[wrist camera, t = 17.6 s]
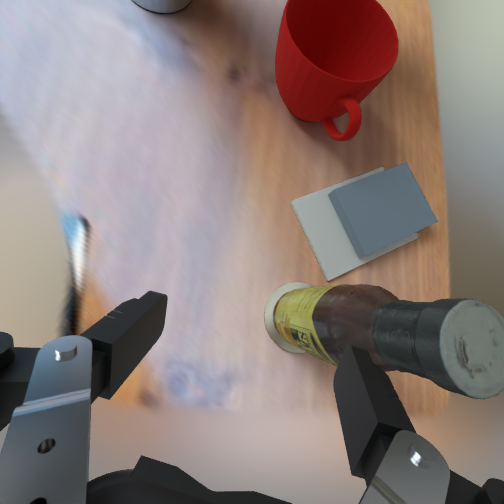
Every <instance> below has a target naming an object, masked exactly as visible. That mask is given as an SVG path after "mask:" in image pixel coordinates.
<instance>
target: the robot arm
mask: <svg viewBox="0 0 504 504" xmlns="http://www.w3.org/2000/svg"><path fill="white" fill-rule="evenodd" d="M133 1H134V2H135V3H137V4H138V5H140V6H141V7H143V8H145V9H148V10H151V11H154V12H159V13H170V12H176V11H178V10H181V9H183V8H184V7H186V6H187V5H188V4H189V2H190V1H191V0H133ZM167 299H168V298H167V295H165V294H161V293H158V292H154V291H148V292H147V293H146V294H145V295H143V296H142V297H141V298H140V299H136V298H134V299H131V300H128V301H126V302H123V303H122V304H120V305H119V306H118V307H116V308H115V309H114V311H113V310H112V311H111V312H110V313H108V314H107V316H104V317H103V318H102V319H100V320H99V321H98V322H97V323H95V324H94V325H93V326H91V327H90V328H89V329H87V330H86V331H85V332H83V333H82V334H81V335H79V336H65V337H60V338H57V339H55V340H52V341H50V342H48V343H47V344H45V345H44V346H43V347H42V348H22V347H14V344H13V338H12V336H11V335H9V334H8V333H5V332H0V431H1V430H2V429H3V428H4V427H5V426H7V424H9V423H10V425H9V428H8V431H7V434H6V437H5V441H4V444H3V447H2V450H1V454H0V504H292V503H289V502H286V501H283V500H280V499H276V498H273V497H270V496H267V495H264V494H261V493H258V492H254V491H235V492H234V491H232V492H231V491H230V492H228V491H224V492H215V491H211V490H209V489H207V488H206V487H205V486H203V485H202V484H201V483H199V482H198V481H196V480H195V479H194V478H192V477H191V476H189V475H188V474H187V473H185V472H184V471H182V470H181V469H180V468H178V467H176V466H173V465H170V464H167V463H164V462H160V461H157V460H154V459H151V458H148V457H145V456H141V457H140V459H139V461H138V463H137V464H136V466H135V468H134V469H127V470H120V471H115V472H112V473H108V474H105V475H102V476H100V477H97V478H95V479H93V480H91V481H88V480H89V450H90V421H91V404H92V403H93V402H94V401H95V400H96V398H97V397H98V396H99V397H102V398H105V399H109V400H110V399H111V397H112V396H113V395H114V394H115V392H116V391H117V390H118V389H119V387H120V386H121V385H122V384H123V382H124V381H125V380H126V379H127V378H128V376H129V375H130V374H131V373H132V371H133V370H134V369H135V368H136V366H137V365H138V364H139V363H140V361H141V360H142V359H143V358H144V356H145V355H146V354H147V353H148V351H149V350H150V349H151V348H152V346H153V345H154V344H155V343H156V341H157V340H158V339H159V337H160V336H161V334H162V331H163V328H164V324H165V316H166V308H167ZM333 385H334V393H335V397H336V402H337V407H338V412H339V417H340V421H341V425H342V431H343V435H344V440H345V446H346V450H347V455H348V460H349V464H350V470H351V474H352V475H354V476H357V477H360V478H363V479H365V481H366V485H367V488H366V490H365V492H364V494H363V496H362V498H361V500H360V502H359V504H504V481H502V480H499V479H494V478H491V479H488V480H487V481H486V482H485V484H484V485H483V486H482V488H481V487H479V486H478V485H476V484H474V483H472V482H471V481H469V480H467V479H465V478H464V477H462V476H460V475H458V474H456V473H455V472H453V471H451V470H450V469H449V467H448V465H447V462H446V461H445V459H444V457H443V456H442V455H441V453H440V452H439V451H438V450H437V449H436V448H435V447H434V446H433V445H432V444H431V443H430V442H429V441H427V440H426V439H424V438H423V437H422V436H420V435H418V434H417V433H416V431H415V429H414V427H413V425H412V423H411V421H410V419H409V417H408V415H407V413H406V411H405V409H404V407H403V405H402V403H401V401H400V400H399V397H398V395H397V393H396V391H395V390H394V387H393V385H392V383H391V381H390V379H389V377H388V375H387V374H386V373H385V372H384V371H383V370H382V369H381V368H380V366H379V365H375V364H374V363H373V361H372V358H371V356H370V354H369V352H368V350H367V349H363V348H360V347H356V346H352V345H347V346H346V348H345V350H344V352H343V355H342V357H341V360H340V362H339V365H338V367H337V370H336V372H335V376H334V384H333Z"/></svg>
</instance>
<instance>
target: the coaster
mask: <svg viewBox="0 0 504 504" xmlns="http://www.w3.org/2000/svg"><path fill="white" fill-rule="evenodd" d="M310 287H313V286H311V285H309V284H306V283H302V282H292V283H288V284H285V285H283V286H281V287H279V288H278V289H276V290H275V291H274V292H273V293H272V295H271V296H270V298H269V299H268V301H267V304H266V307H265V312H264V320H265V326H266V329H267V332H268V334H269V336H270V337H271V339H272V340H273V341H274V342H275V343H276V344H277V345H278V346H280V347H281V348H283V349H284V350H287V351H289V352H293V353H305V352H306V351H304V350H301V349H299V348H297V347H295V346H293V345H291V344H290V343H288V342H287V341H285V340H284V339H283V337H282V336H281V335H280V334H279V333H278V331H277V330H276V328H275V326H274V322H273V310H274V307H275V305H276V303H277V301H278V300H279V299H280V298H281V296H282V295H283V294H285V293H286V292H290V291H292V290H294V289H300V288H310Z"/></svg>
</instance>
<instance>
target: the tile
mask: <svg viewBox="0 0 504 504" xmlns="http://www.w3.org/2000/svg"><path fill="white" fill-rule="evenodd" d="M328 196H329V198H330V200H331V202H332V204H333V206H334V209H335V211H336V213H337V215H338V217H339V219H340V221H341V223H342V225H343V227H344V229H345V231H346V233H347V235H348V237H349V240H350V242H351V244H352V246H353V248H354V250H355V252H356V254H357V256H358V258H359V257H363V256H366V255H368V254H370V253H372V252H375V251H377V250H379V249H381V248H383V247H385V246H387V245H389V244H392V243H394V242H396V241H398V240H400V239H402V238H404V237H407V236H409V235H411V234H413V233H415V232H417V231H419V230H421V229H424V228H426V227H428V226H430V225H432V224H434V223H436V222H438V221H437V219H436V217H435V215H434V214H433V212H432V210H431V208H430V206H429V204H428V202H427V200H426V198H425V196H424V195H423V193H422V191H421V189H420V187H419V185H418V183H417V181H416V179H415V177H414V176H413V174H412V172H411V170H410V168H409V166H408V164H407V162H406V163H403V164H400V165H398V166H395V167H392V168H390V169H387V170H384V171H382V172H379V173H376V174H374V175H371V176H368V177H366V178H363V179H360V180H358V181H355V182H352V183H350V184H347V185H344V186H342V187H339V188H336V189H334V190H333V191H331V192H330V193H329V194H328Z"/></svg>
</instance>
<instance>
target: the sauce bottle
mask: <svg viewBox="0 0 504 504" xmlns="http://www.w3.org/2000/svg"><path fill="white" fill-rule="evenodd" d="M273 322H274V326H275V328H276V330H277V331H278V333H279V334H280V335H281V336H282V337H283V339H284V340H285V341H287V342H288V343H290V344H291V345H293V346H295V347H297V348H299V349H301V350H304V351H306V352H307V353H310V354H312V355H314V356H316V357H318V358H320V359H322V360H324V361H327V362H329V363H331V364H333V365H335V366H337V367H338V365H339V362H340V360H341V357H342V355H343V352H344V350H345V348H346V346H347V345H352V346H356V347H360V348H363V349H367V350H368V352H369V354H370V356H371V358H372V361H373V363H374V364H375V365H379V366H380V368H381V369H382V370H383V371H384V372H387V371H395V370H398V371H400V372H409V373H412V374H415V375H418V376H420V377H423V378H427V379H430V380H431V381H433V382H434V383H435V384H437V385H438V386H440V387H441V388H443V389H446V390H448V391H451V392H454V393H459V394H462V395H464V396H467V397H471V398H475V399H487V398H491V397H493V396H496V395H498V394H499V393H500V392H502V391H503V389H504V319H503V317H502V316H501V315H500V314H499V313H498V312H497V311H496V310H495V309H494V308H493V307H491V306H490V305H488V304H486V303H483V302H480V301H477V300H475V299H440V300H436V301H434V302H412V301H406V300H399V299H398V298H397V297H396V296H394V295H393V294H392V293H391V292H389V291H388V290H386V289H383V288H382V287H380V286H372V285H367V284H365V285H363V284H360V285H345V284H344V285H332V286H322V287H310V288H300V289H294V290H292V291H290V292H286V293H285V294H283V295H282V296H281V298H280V299H279V300H278V301H277V303H276V305H275V307H274V310H273Z"/></svg>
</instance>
